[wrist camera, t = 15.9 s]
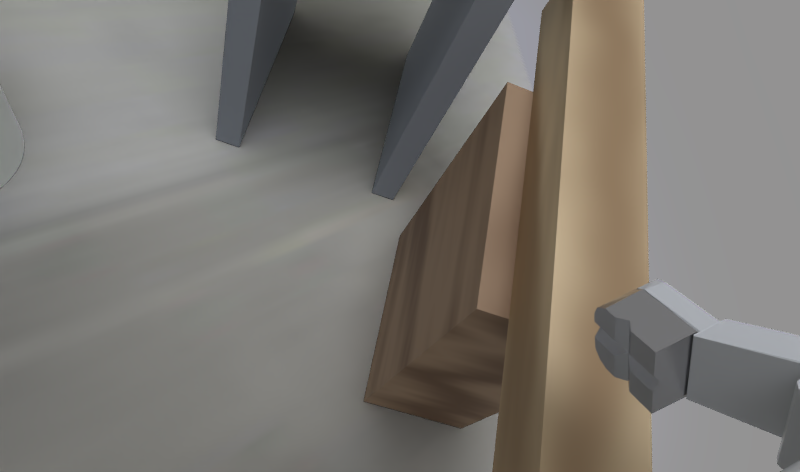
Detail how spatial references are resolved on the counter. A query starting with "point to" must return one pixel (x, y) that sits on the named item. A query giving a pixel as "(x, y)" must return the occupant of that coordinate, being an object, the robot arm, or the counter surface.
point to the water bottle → (9, 141)
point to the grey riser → (419, 87)
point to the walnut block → (457, 279)
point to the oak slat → (578, 246)
